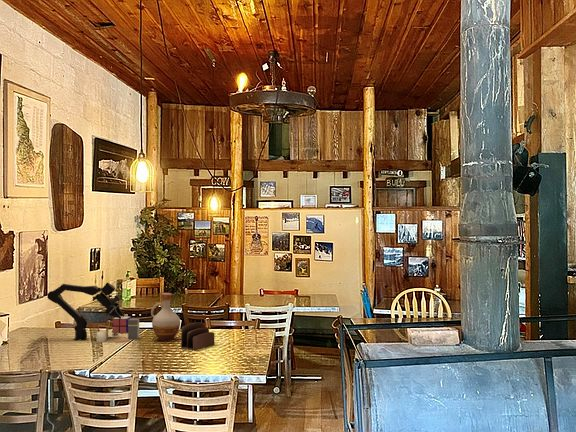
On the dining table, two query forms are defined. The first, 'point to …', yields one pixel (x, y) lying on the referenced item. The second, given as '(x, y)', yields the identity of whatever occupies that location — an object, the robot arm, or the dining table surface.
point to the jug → (165, 320)
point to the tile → (121, 340)
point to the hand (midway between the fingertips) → (122, 316)
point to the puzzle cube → (120, 324)
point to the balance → (107, 331)
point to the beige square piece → (101, 336)
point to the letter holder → (196, 336)
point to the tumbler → (133, 329)
